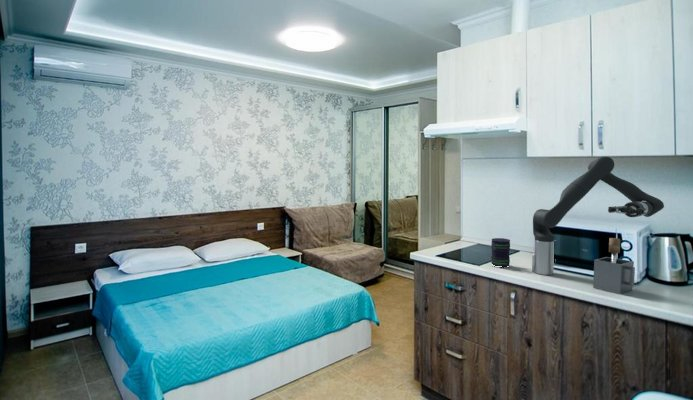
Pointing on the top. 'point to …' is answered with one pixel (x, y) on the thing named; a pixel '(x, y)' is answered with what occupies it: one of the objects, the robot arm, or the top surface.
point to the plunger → (614, 248)
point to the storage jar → (500, 252)
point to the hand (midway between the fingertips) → (619, 211)
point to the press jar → (614, 275)
